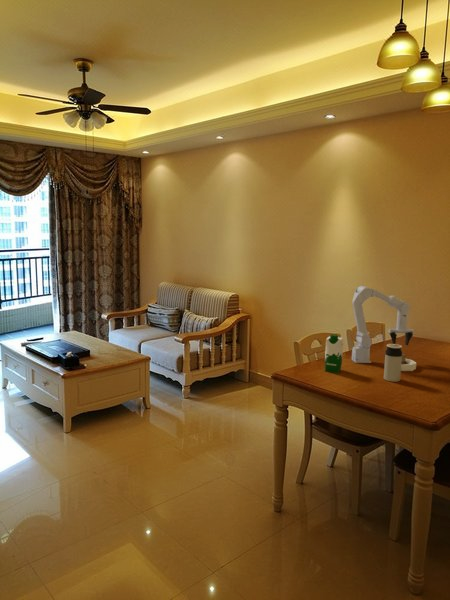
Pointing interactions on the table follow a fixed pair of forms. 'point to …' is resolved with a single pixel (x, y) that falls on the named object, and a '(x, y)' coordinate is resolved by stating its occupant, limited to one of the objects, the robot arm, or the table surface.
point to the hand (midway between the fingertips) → (400, 344)
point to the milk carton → (333, 353)
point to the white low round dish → (408, 365)
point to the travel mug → (393, 363)
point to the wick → (403, 358)
